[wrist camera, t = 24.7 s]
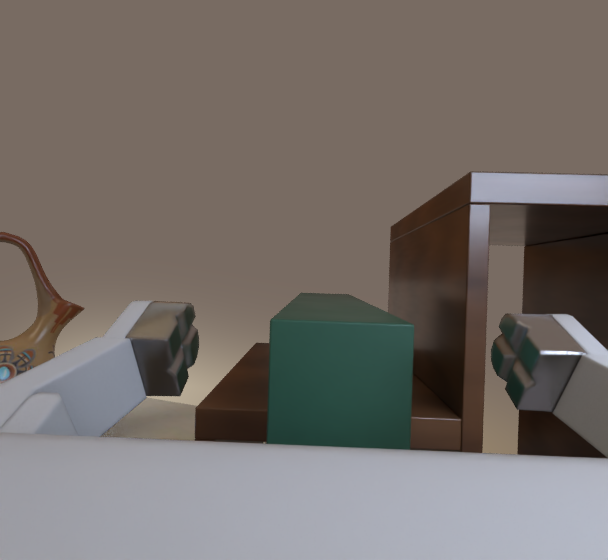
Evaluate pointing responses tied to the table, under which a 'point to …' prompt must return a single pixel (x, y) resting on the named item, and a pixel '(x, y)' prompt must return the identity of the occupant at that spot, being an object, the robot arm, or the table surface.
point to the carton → (339, 374)
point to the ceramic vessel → (44, 331)
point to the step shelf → (465, 306)
